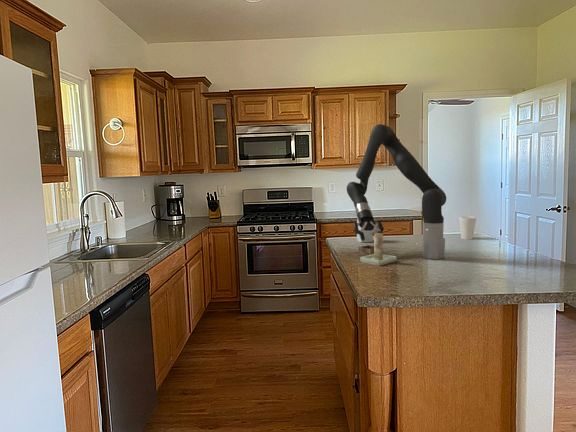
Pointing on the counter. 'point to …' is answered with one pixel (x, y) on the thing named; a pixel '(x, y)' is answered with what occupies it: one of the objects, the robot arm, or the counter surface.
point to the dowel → (378, 246)
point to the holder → (366, 250)
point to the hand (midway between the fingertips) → (372, 239)
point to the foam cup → (467, 226)
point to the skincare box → (365, 235)
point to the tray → (371, 260)
